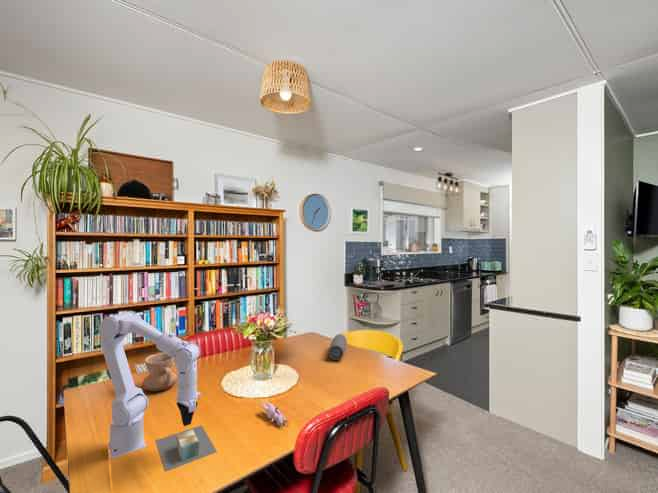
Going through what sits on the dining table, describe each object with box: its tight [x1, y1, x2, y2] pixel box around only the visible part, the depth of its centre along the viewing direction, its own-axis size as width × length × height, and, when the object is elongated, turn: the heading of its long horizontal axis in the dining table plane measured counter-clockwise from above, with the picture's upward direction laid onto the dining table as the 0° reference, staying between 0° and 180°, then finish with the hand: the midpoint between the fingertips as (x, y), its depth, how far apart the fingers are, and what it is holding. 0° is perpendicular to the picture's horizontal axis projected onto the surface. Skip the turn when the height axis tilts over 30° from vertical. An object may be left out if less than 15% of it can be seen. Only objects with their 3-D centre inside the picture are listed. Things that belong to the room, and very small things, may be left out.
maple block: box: [177, 430, 199, 461], centre depth 101 cm, size 5×4×8 cm
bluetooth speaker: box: [328, 333, 348, 361], centre depth 190 cm, size 23×9×10 cm, turn 172°
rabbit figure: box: [262, 402, 290, 428], centre depth 120 cm, size 6×6×15 cm
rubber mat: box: [155, 425, 218, 473], centre depth 103 cm, size 15×18×1 cm
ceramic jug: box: [141, 352, 178, 392], centre depth 145 cm, size 18×14×14 cm
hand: (186, 424), depth 101 cm, fingers closed
